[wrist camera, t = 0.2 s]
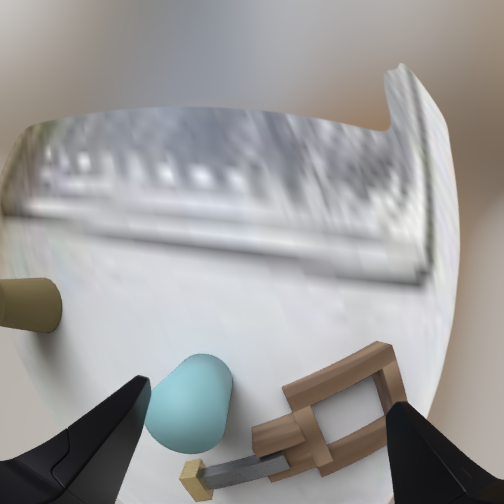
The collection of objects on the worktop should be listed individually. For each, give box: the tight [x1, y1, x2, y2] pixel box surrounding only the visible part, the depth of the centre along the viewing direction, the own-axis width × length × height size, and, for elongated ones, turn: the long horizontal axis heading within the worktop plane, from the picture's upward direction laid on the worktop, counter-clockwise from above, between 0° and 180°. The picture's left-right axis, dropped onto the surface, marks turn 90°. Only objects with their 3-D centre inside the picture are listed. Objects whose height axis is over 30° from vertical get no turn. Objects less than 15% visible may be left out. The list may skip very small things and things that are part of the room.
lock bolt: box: [179, 450, 290, 502], centre depth 17 cm, size 3×8×3 cm, turn 112°
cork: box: [0, 278, 62, 333], centre depth 17 cm, size 6×6×11 cm
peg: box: [144, 354, 233, 454], centre depth 18 cm, size 5×5×9 cm
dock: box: [252, 341, 408, 483], centre depth 19 cm, size 10×14×4 cm
